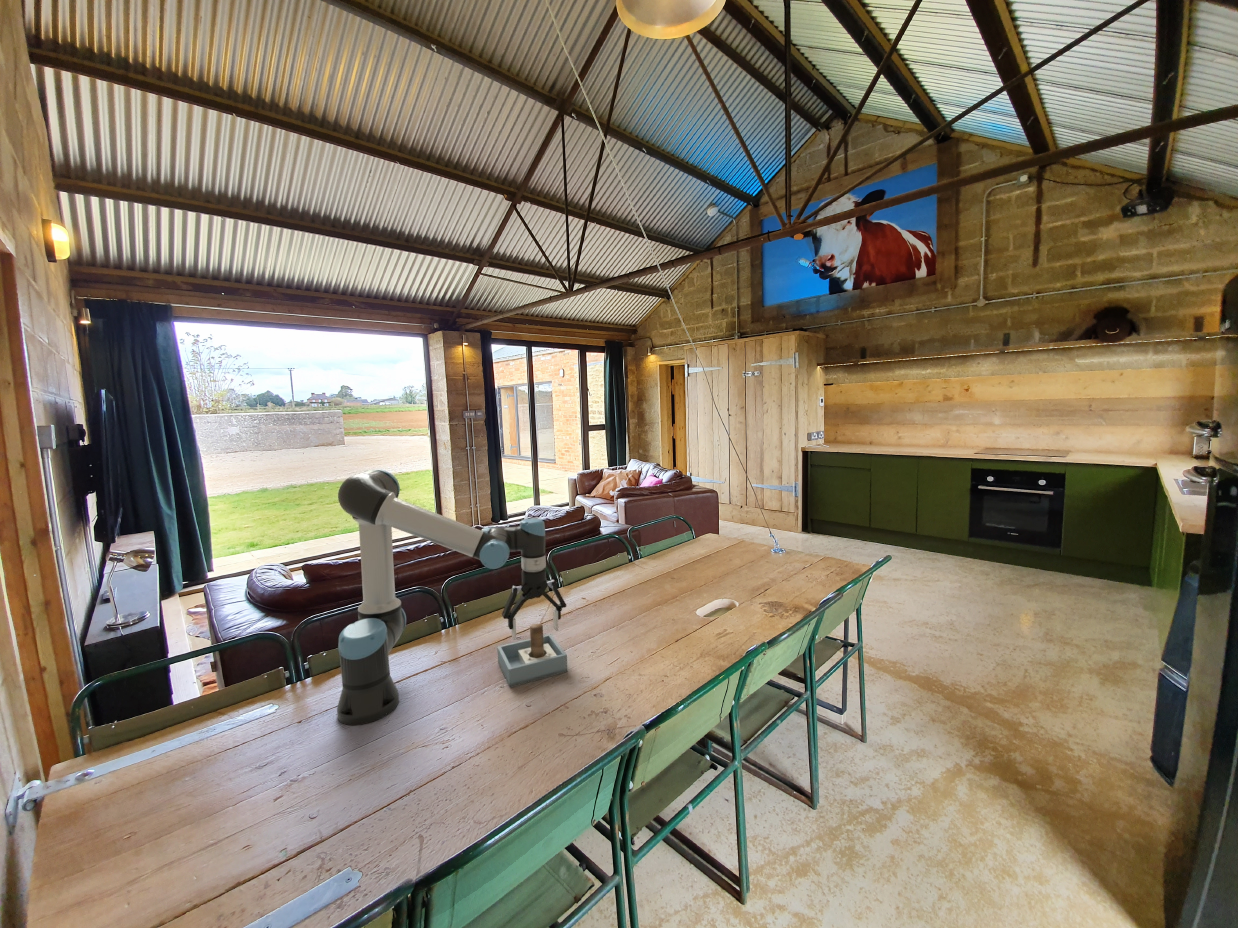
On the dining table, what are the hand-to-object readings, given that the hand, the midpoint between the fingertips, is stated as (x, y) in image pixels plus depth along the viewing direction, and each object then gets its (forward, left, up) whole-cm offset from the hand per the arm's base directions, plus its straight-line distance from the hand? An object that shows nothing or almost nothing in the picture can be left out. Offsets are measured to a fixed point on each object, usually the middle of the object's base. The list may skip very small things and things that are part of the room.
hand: (535, 633), depth 152 cm
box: (-2, 0, -11) cm, 11 cm away
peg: (0, 0, -10) cm, 10 cm away
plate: (0, 0, -11) cm, 11 cm away
